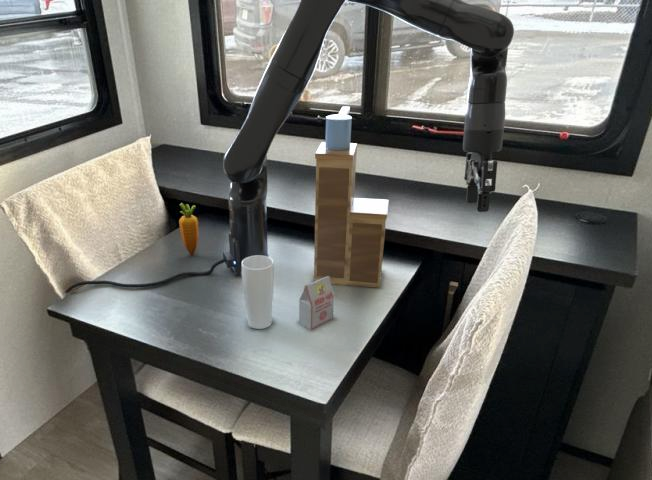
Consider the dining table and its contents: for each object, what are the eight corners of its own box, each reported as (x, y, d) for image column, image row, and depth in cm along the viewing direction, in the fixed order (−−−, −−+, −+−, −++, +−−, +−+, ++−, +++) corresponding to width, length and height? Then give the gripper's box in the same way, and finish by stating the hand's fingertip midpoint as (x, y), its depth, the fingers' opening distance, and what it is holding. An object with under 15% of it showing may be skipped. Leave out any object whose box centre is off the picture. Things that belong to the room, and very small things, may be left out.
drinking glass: (272, 333, 116) (270, 270, 109) (241, 330, 118) (237, 268, 110) (278, 316, 122) (276, 256, 115) (248, 314, 123) (245, 253, 116)
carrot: (204, 253, 151) (200, 202, 143) (193, 261, 147) (187, 208, 140) (190, 250, 153) (185, 198, 146) (179, 256, 150) (172, 204, 142)
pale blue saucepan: (348, 150, 120) (350, 120, 117) (323, 149, 121) (324, 119, 118) (356, 131, 135) (357, 103, 132) (333, 130, 136) (334, 102, 133)
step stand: (380, 288, 132) (392, 156, 116) (312, 282, 135) (315, 153, 119) (382, 270, 140) (393, 144, 124) (318, 265, 143) (321, 141, 127)
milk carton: (299, 322, 120) (299, 282, 115) (321, 312, 124) (322, 272, 118) (310, 329, 117) (311, 289, 112) (333, 318, 121) (334, 278, 116)
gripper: (456, 124, 117) (450, 200, 123) (474, 130, 104) (467, 215, 110) (492, 123, 116) (485, 199, 122) (515, 128, 103) (505, 214, 109)
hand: (476, 206), depth 116 cm, fingers open, 8 cm apart
